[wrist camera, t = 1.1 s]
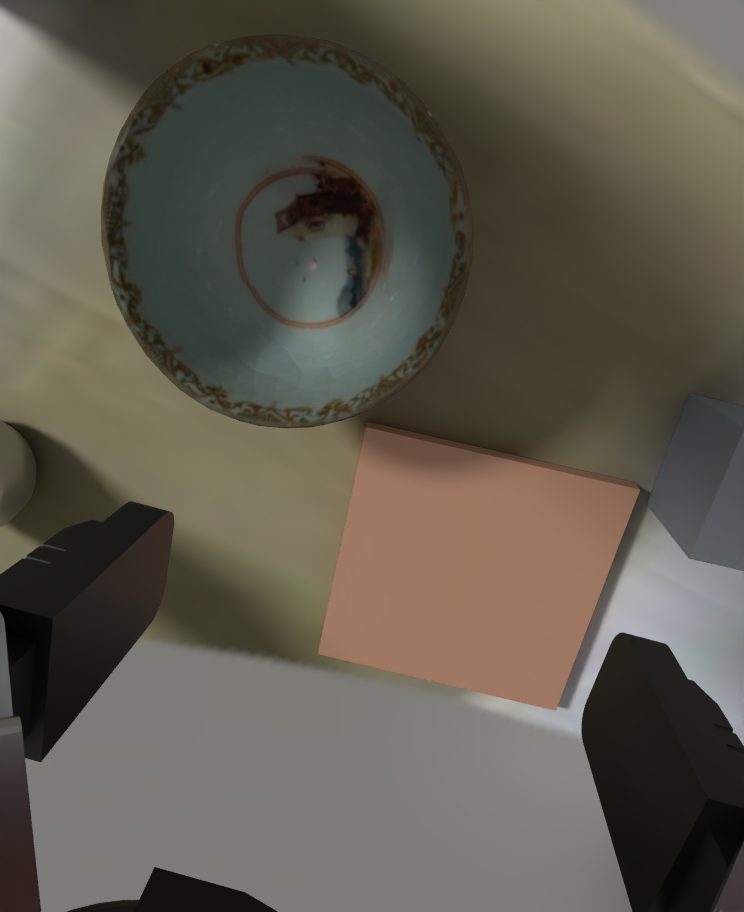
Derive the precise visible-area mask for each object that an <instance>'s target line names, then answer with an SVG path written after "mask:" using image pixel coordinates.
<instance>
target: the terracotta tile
mask: <svg viewBox="0 0 744 912" xmlns="http://www.w3.org/2000/svg"><path fill="white" fill-rule="evenodd" d="M639 492H640V489H639V488H638V486H637V485H636V484H635V483H634V482H630V481H626V480H621V479H617V478H613V477H608V476H604V475H599V474H595V473H591V472H586V471H582V470H577V469H573V468H569V467H564V466H560V465H555V464H551V463H547V462H542V461H538V460H533V459H529V458H525V457H520V456H516V455H511V454H507V453H503V452H498V451H494V450H489V449H485V448H481V447H476V446H472V445H468V444H463V443H459V442H454V441H450V440H446V439H441V438H437V437H432V436H428V435H424V434H419V433H415V432H410V431H406V430H402V429H397V428H393V427H388V426H384V425H380V424H375V423H371V422H368V423H367V425H366V429H365V433H364V438H363V443H362V447H361V452H360V457H359V462H358V466H357V471H356V476H355V480H354V485H353V490H352V495H351V499H350V504H349V509H348V513H347V518H346V523H345V528H344V532H343V537H342V542H341V546H340V551H339V556H338V561H337V565H336V570H335V575H334V579H333V584H332V589H331V594H330V598H329V603H328V608H327V612H326V617H325V622H324V627H323V631H322V636H321V641H320V645H319V650H318V654H320V655H324V656H328V657H332V658H337V659H341V660H345V661H349V662H353V663H358V664H362V665H366V666H370V667H374V668H379V669H383V670H387V671H391V672H396V673H400V674H404V675H408V676H412V677H417V678H421V679H425V680H429V681H433V682H438V683H442V684H446V685H450V686H454V687H459V688H463V689H467V690H471V691H476V692H480V693H484V694H488V695H492V696H497V697H501V698H505V699H509V700H513V701H518V702H522V703H526V704H530V705H534V706H539V707H543V708H547V709H551V710H556V709H557V706H558V704H559V701H560V698H561V696H562V693H563V690H564V688H565V685H566V683H567V680H568V677H569V675H570V672H571V669H572V667H573V664H574V662H575V659H576V656H577V654H578V651H579V649H580V646H581V643H582V641H583V638H584V635H585V633H586V630H587V628H588V625H589V622H590V620H591V617H592V615H593V612H594V609H595V607H596V604H597V601H598V599H599V596H600V594H601V591H602V588H603V586H604V583H605V581H606V578H607V575H608V573H609V570H610V567H611V565H612V562H613V560H614V557H615V554H616V552H617V549H618V547H619V544H620V541H621V539H622V536H623V533H624V531H625V528H626V526H627V523H628V520H629V518H630V515H631V513H632V510H633V507H634V505H635V502H636V499H637V497H638V494H639Z"/></svg>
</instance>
